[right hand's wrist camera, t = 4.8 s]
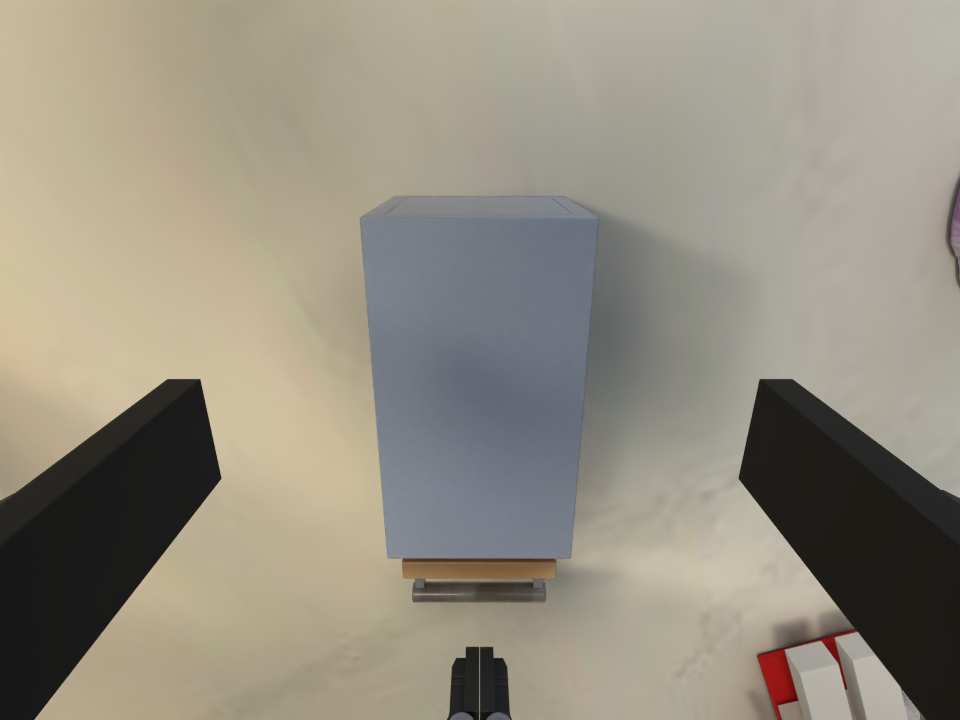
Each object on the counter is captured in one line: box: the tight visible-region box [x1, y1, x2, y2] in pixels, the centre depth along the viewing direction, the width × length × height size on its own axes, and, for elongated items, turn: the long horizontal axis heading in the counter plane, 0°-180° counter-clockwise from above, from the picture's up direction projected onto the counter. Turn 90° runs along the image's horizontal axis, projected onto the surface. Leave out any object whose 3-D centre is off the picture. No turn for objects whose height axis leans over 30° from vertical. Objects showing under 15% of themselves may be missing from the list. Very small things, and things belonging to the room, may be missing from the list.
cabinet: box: [360, 196, 599, 559], centre depth 30 cm, size 18×10×9 cm, turn 0°
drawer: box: [402, 558, 556, 602], centre depth 32 cm, size 22×9×8 cm, turn 0°
